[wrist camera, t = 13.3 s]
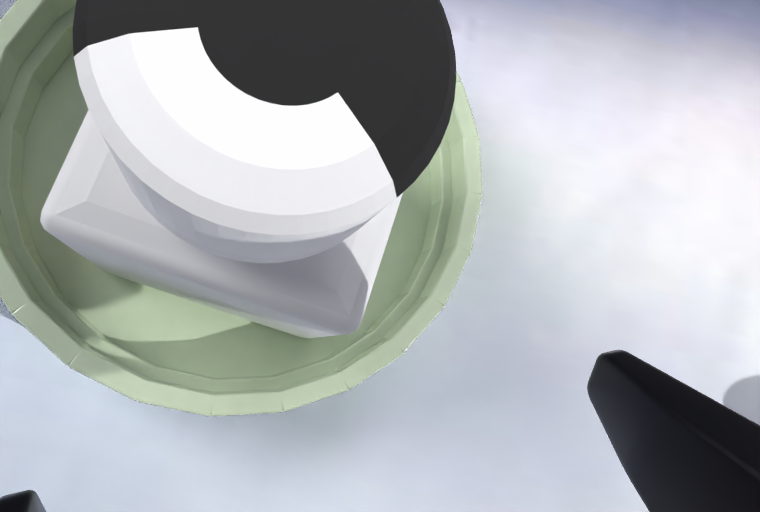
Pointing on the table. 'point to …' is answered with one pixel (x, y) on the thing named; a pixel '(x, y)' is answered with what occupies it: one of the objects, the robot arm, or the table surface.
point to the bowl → (184, 317)
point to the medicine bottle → (252, 148)
